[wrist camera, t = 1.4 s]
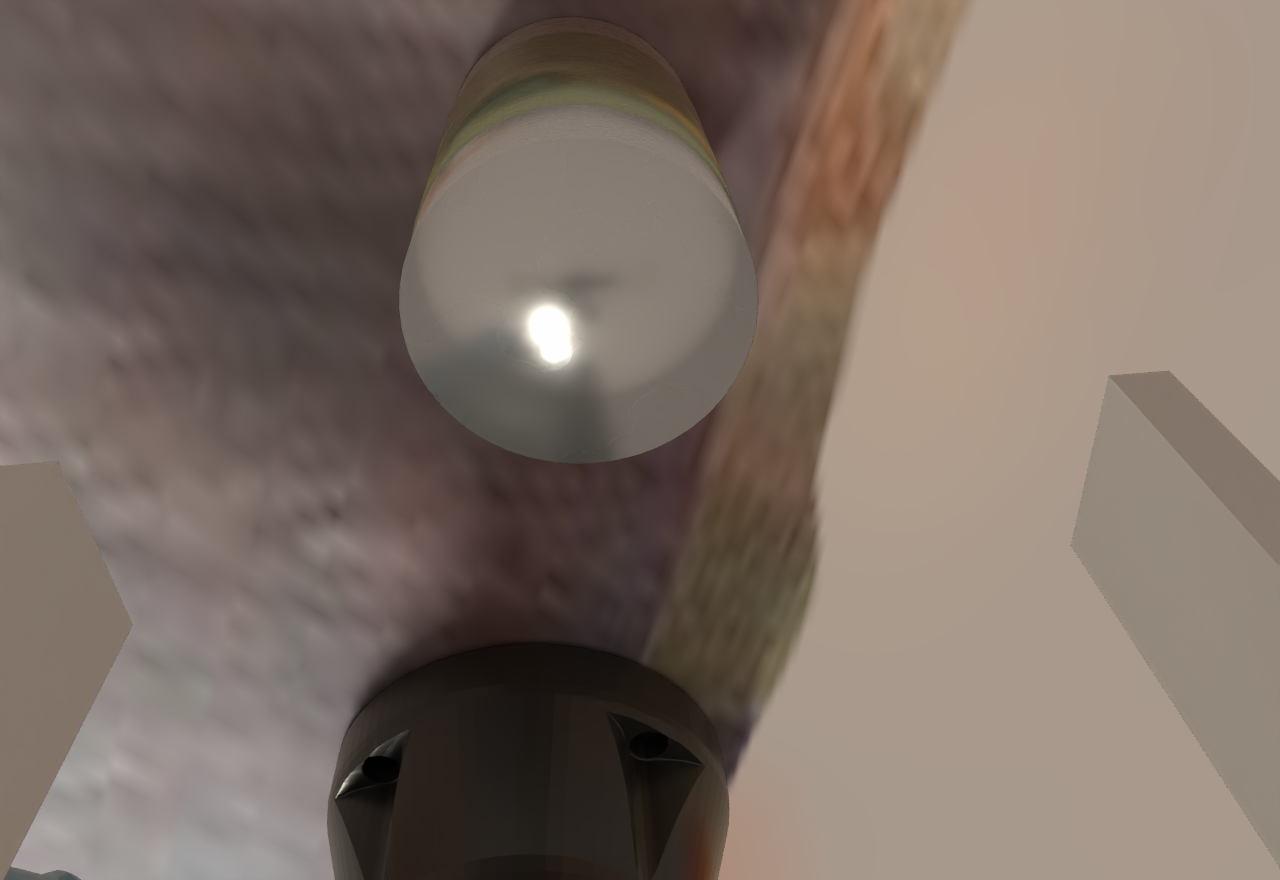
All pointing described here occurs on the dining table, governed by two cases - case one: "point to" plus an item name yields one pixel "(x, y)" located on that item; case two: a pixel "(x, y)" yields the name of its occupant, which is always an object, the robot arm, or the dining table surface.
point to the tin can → (576, 252)
